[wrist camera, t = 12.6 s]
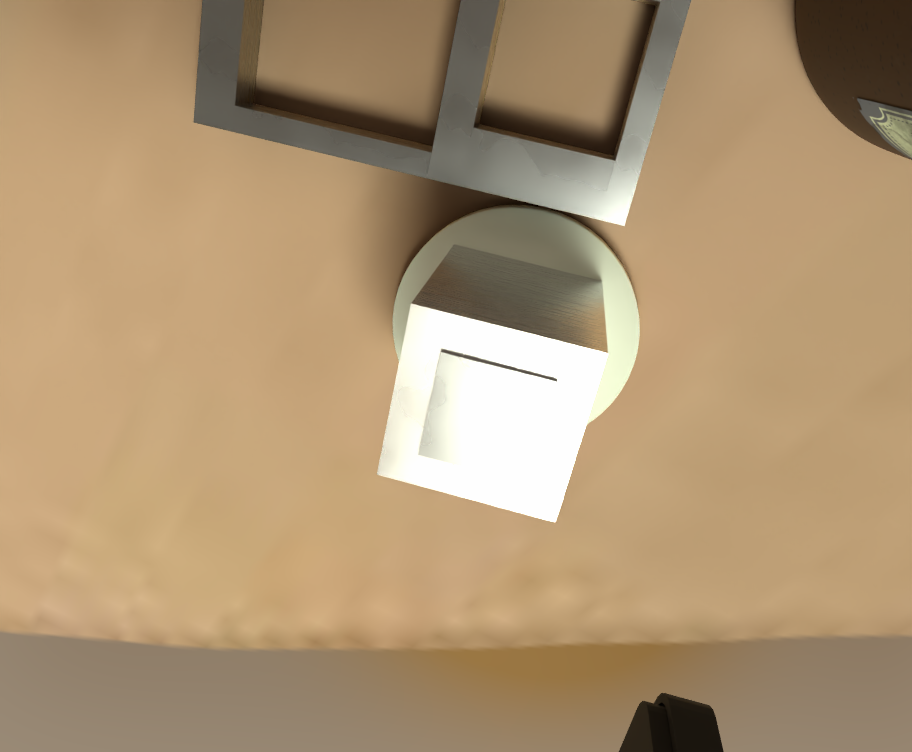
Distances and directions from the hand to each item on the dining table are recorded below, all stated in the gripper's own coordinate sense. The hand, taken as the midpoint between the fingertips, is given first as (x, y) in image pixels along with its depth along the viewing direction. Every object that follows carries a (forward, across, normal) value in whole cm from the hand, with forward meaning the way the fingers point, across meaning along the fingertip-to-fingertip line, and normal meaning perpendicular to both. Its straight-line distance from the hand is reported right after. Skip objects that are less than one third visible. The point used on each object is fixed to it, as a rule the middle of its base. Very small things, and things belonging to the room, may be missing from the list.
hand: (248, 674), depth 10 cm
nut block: (+18, -2, +1) cm, 18 cm away
